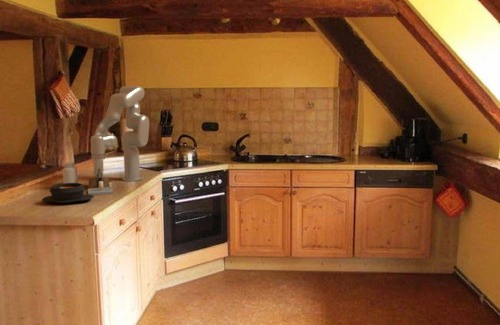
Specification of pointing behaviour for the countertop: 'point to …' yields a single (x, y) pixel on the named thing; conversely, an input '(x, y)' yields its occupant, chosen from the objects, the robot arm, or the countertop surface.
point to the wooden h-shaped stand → (94, 183)
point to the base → (96, 191)
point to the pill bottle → (70, 173)
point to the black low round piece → (67, 193)
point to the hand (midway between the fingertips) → (99, 185)
